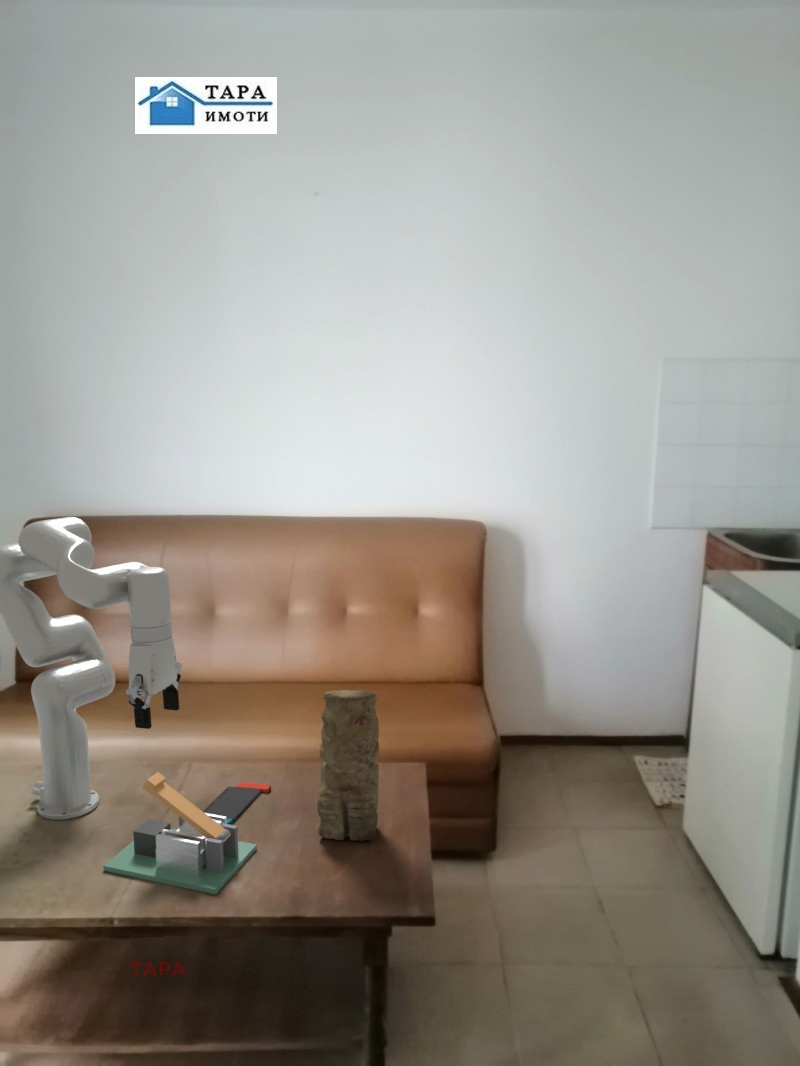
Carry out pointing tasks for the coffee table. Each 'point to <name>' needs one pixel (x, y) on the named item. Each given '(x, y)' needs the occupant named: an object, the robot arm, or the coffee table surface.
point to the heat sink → (184, 848)
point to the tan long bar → (185, 808)
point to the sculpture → (349, 766)
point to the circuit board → (142, 864)
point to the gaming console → (236, 800)
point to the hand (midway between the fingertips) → (157, 718)
